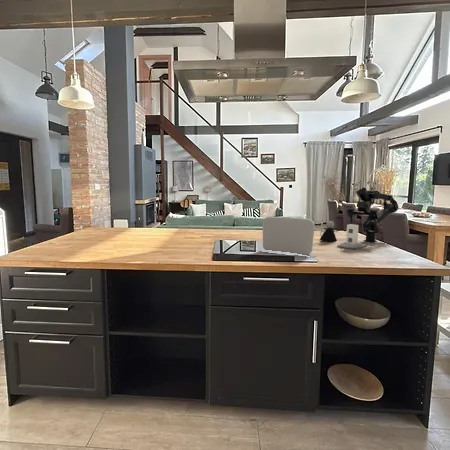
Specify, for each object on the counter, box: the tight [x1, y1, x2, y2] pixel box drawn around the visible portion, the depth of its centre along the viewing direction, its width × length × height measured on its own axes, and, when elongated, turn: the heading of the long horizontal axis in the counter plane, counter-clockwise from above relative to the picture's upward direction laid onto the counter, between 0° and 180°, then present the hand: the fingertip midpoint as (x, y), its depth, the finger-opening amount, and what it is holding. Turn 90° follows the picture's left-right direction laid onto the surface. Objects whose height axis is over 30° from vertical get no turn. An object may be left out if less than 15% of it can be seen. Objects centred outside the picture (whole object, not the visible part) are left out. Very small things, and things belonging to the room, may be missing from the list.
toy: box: [319, 220, 339, 243], centre depth 216 cm, size 12×7×15 cm, turn 84°
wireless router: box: [262, 216, 317, 258], centre depth 178 cm, size 31×10×20 cm, turn 65°
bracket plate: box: [337, 241, 368, 251], centre depth 201 cm, size 17×12×2 cm
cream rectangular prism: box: [345, 223, 359, 245], centre depth 197 cm, size 5×5×13 cm
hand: (358, 223), depth 206 cm, fingers open, 9 cm apart
